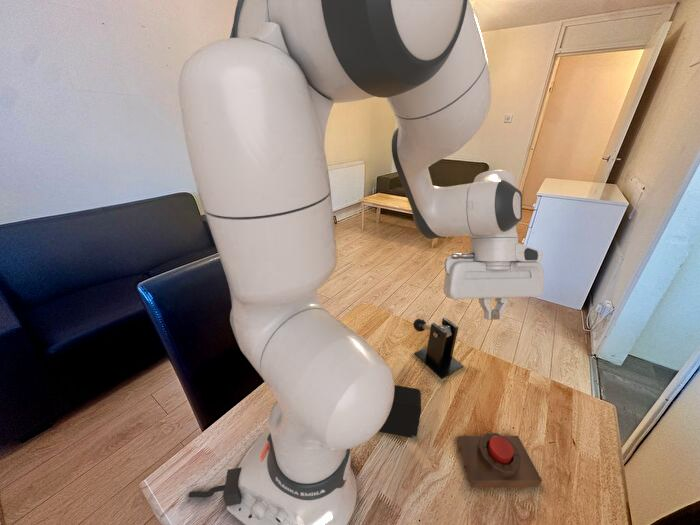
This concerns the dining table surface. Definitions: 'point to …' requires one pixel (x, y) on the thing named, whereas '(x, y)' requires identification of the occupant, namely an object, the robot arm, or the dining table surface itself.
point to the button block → (497, 464)
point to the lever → (429, 326)
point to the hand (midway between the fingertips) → (492, 319)
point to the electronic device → (404, 413)
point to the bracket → (440, 350)
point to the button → (500, 449)
